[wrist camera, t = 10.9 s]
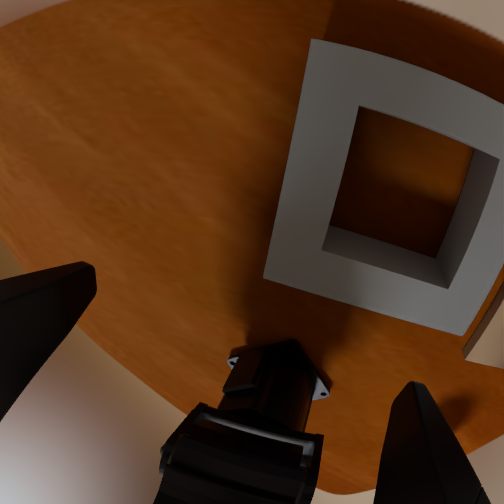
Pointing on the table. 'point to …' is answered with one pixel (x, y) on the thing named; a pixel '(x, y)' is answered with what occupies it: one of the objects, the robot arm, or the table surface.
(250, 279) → the table surface
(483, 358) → the beige board
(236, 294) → the table surface
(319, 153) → the pocket block
